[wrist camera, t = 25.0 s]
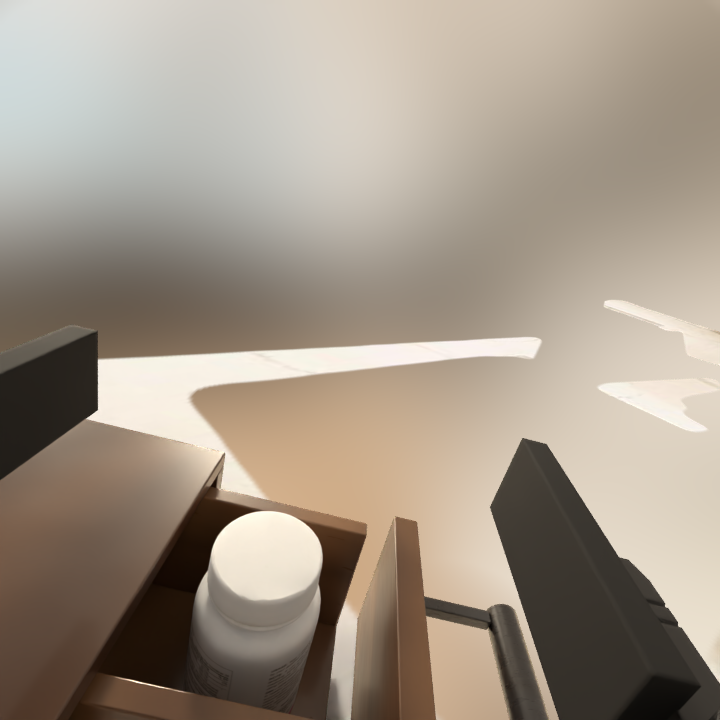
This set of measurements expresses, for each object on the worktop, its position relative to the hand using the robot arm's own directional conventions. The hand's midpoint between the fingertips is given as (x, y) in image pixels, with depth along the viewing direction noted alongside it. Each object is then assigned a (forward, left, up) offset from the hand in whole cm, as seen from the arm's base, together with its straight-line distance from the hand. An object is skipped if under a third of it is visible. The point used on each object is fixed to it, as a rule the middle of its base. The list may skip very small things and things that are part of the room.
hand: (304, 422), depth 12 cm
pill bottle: (0, 0, -14) cm, 14 cm away
